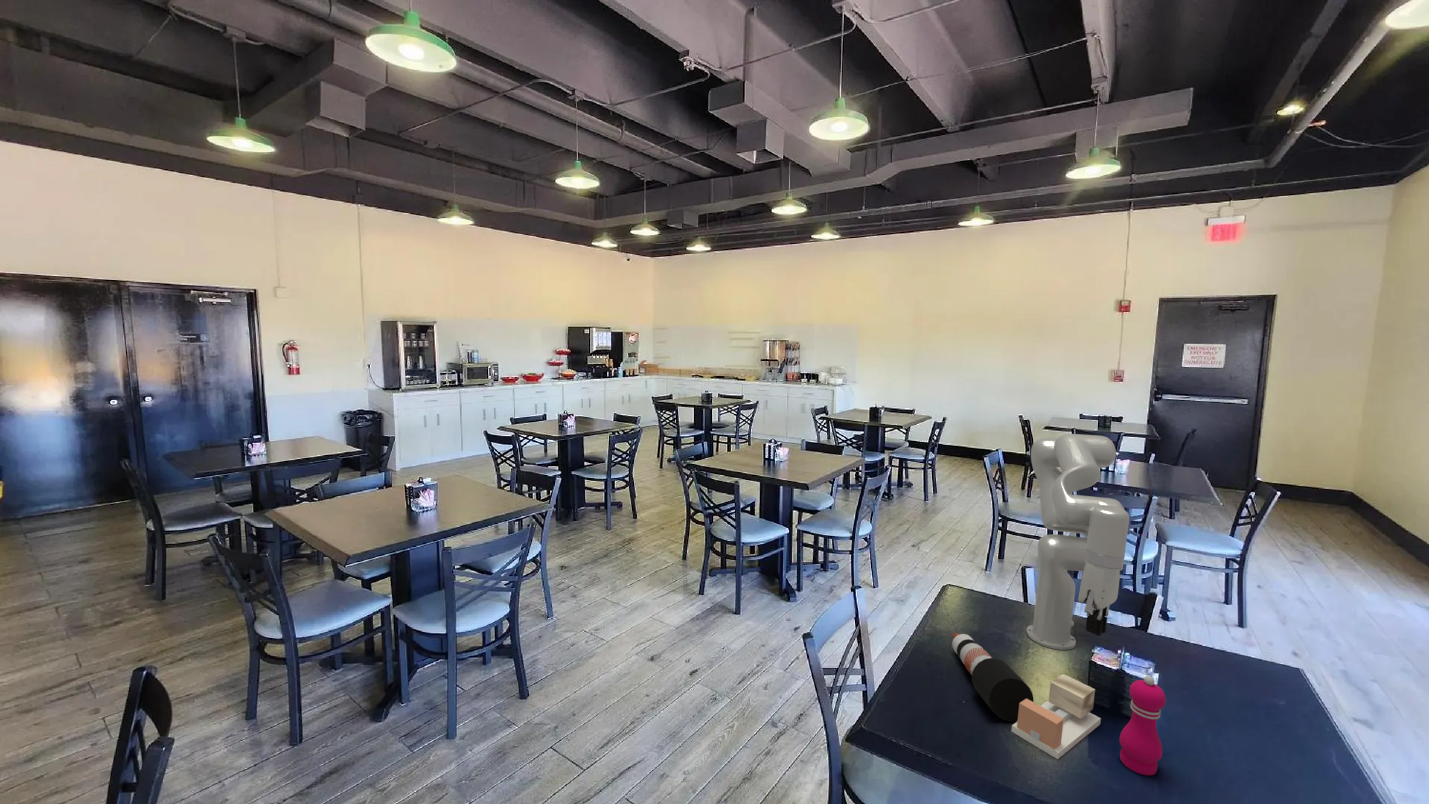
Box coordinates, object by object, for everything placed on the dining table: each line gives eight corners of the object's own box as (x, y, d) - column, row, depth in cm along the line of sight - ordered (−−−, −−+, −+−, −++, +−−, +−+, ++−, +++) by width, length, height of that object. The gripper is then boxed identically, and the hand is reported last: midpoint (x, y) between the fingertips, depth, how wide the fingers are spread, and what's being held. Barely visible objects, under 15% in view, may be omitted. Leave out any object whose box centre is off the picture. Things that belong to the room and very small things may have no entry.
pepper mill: (1108, 752, 125) (1119, 666, 122) (1139, 751, 125) (1151, 665, 123) (1135, 778, 117) (1148, 688, 115) (1168, 777, 118) (1181, 687, 115)
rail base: (1055, 700, 142) (1058, 672, 141) (1100, 724, 133) (1103, 694, 132) (1011, 731, 130) (1014, 700, 129) (1057, 759, 122) (1061, 727, 121)
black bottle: (962, 659, 166) (980, 630, 166) (1019, 729, 133) (1041, 692, 132) (931, 642, 166) (949, 612, 166) (981, 707, 133) (1003, 670, 132)
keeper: (1060, 693, 139) (1063, 673, 139) (1092, 709, 134) (1095, 689, 133) (1048, 701, 136) (1050, 682, 135) (1080, 718, 130) (1083, 698, 130)
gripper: (1101, 546, 143) (1093, 616, 145) (1071, 559, 134) (1063, 634, 136) (1136, 557, 137) (1127, 629, 139) (1107, 571, 128) (1098, 649, 130)
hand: (1095, 631), depth 138 cm, fingers closed
